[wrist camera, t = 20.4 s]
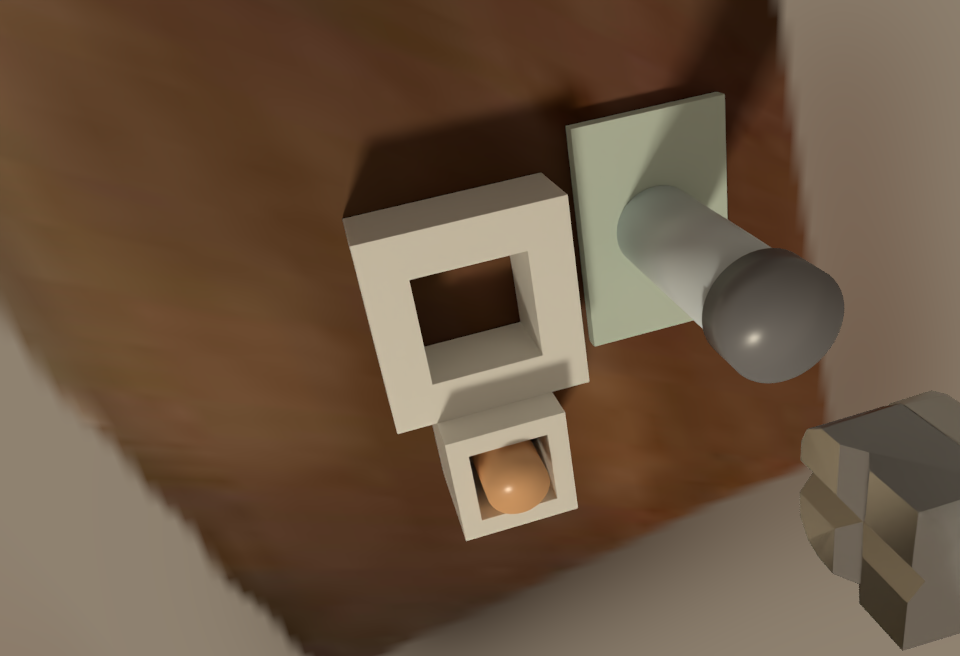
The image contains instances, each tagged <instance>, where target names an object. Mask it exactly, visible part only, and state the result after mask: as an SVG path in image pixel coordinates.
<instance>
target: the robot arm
mask: <svg viewBox="0 0 960 656" xmlns="http://www.w3.org/2000/svg"><path fill="white" fill-rule="evenodd" d="M801 461H802V462H803V463H804V464H805V465H806V466H807V467H808V468H809V469H810V470H811V471H812V472H813V473H812V474H811V476H810V477H809V479H808V480H807V482H806V483H805V485H804V487H803V488H802V489H801V491H800V517H801V520H802V523H803V526H804V529H805V532H806V535H807V538H808V541H809V542H810V544H811V546H812V547H813V549H814V551H815V552H816V554H817V556H818V557H819V558H820V560H821V561H822V562H823V563H824V564H825V565H826V566H827V568H828V569H829V570H830V571H831V572H832V573H833V574H835V575H837V576H840V577H843V578H845V579H847V580H850V581H853V582H855V583H857V584H859V603H860V605H861V606H862V607H863V608H864V609H865V610H866V611H867V612H868V613H869V614H870V616H871V617H872V618H873V619H874V620H875V621H876V622H877V623H878V624H879V625H880V627H882V629H883V630H884V631H885V632H886V633H887V634H888V635H889V636H890V638H891V639H892V640H893V641H894V642H895V643H896V644H897V645H898V646H899V647H900V649H902V651H903V650H906V649H910V648H913V647H916V646H919V645H923V644H926V643H929V642H933V641H936V640H939V639H943V638H946V637H949V636H952V635H956V634H959V633H960V403H959V402H958V401H956V400H955V399H953V398H952V397H950V396H949V395H947V394H944V393H940V392H936V391H929V392H925V393H922V394H919V395H916V396H912V397H909V398H907V399H903V400H900V401H897V402H893V403H891V404H889V405H888V406H883V407H880V408H876V409H873V410H870V411H866V412H863V413H860V414H856V415H853V416H850V417H847V418H843V419H839V420H836V421H833V422H829V423H826V424H823V425H819V426H816V427H813V428H809V429H807V431H806V433H805V435H804V437H803V439H802V442H801Z"/></svg>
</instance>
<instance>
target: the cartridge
mask: <svg viewBox="0 0 960 656" xmlns="http://www.w3.org/2000/svg"><path fill="white" fill-rule="evenodd" d="M617 241H618V245H619V248H620V250H621V252H622V253H623V254H624V256H625V257H626V258H627V259H628V260H629V261H630V262H632V263H633V264H634V265H635V266H636V267H637V268H638V269H639V270H640V271H641V272H642V273H643V274H644V275H646V276H647V277H648V278H649V279H650V280H651V281H652V282H653V283H654V284H655V285H656V286H657V287H658V288H660V289H661V290H662V291H663V292H664V293H665V294H666V295H667V296H668V297H669V298H670V299H671V300H672V301H674V302H675V303H676V304H677V305H678V306H679V307H680V308H681V309H682V310H683V311H684V312H685V313H686V314H688V315H689V316H690V317H691V318H692V319H693V320H694V321H695V322H696V323H697V324H698V325H699V326H700V327H702V328H703V331H704V335H705V337H706V339H707V341H708V342H709V344H710V345H711V346H712V347H713V349H714V350H715V351H717V352H718V353H719V354H720V355H721V356H722V357H723V358H724V359H725V360H726V361H727V362H728V363H729V364H730V365H731V366H732V367H733V368H734V369H735V370H736V371H738V372H739V373H740V374H741V375H742V376H744V377H745V378H747V379H749V380H752V381H755V382H760V383H776V382H782V381H786V380H789V379H791V378H794V377H796V376H798V375H800V374H802V373H804V372H805V371H807V370H808V369H810V368H811V367H812V366H814V365H815V364H816V363H817V362H818V361H819V360H820V359H821V358H822V357H823V356H824V355H825V354H826V353H827V351H828V350H829V349H830V348H831V346H832V344H833V343H834V341H835V339H836V337H837V335H838V333H839V331H840V328H841V325H842V321H843V316H844V300H843V295H842V292H841V290H840V288H839V286H838V284H837V283H836V282H835V280H834V279H833V278H832V277H831V276H830V275H829V274H827V273H825V272H824V271H822V270H821V269H819V268H817V267H816V266H814V265H812V264H811V263H809V262H808V261H806V260H804V259H803V258H801V257H800V256H798V255H796V254H795V253H793V252H791V251H788V250H785V249H780V248H771V247H770V246H768V245H766V244H765V243H763V242H762V241H760V240H759V239H757V238H755V237H754V236H752V235H751V234H749V233H748V232H746V231H744V230H743V229H741V228H740V227H738V226H737V225H735V224H734V223H732V222H730V221H729V220H727V219H726V218H724V217H723V216H721V215H719V214H718V213H716V212H715V211H713V210H712V209H710V208H709V207H707V206H705V205H704V204H702V203H701V202H699V201H698V200H696V199H694V198H693V197H691V196H690V195H688V194H687V193H685V192H683V191H682V190H680V189H678V188H676V187H673V186H667V185H659V186H654V187H651V188H648V189H646V190H643V191H642V192H640V193H639V194H637V195H636V196H635V197H633V198H632V199H631V200H630V201H629V203H628V204H627V205H626V206H625V208H624V210H623V211H622V213H621V215H620V218H619V221H618V225H617Z"/></svg>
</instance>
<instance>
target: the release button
mask: <svg viewBox="0 0 960 656" xmlns="http://www.w3.org/2000/svg"><path fill="white" fill-rule="evenodd" d="M471 458H472V461H473V463H474V466H475V468H476V471H477V473H478V476H479V478H480V481H481V483H482V486H483V488H484V491H485V493H486V496H487V498H488V501H489V503H490V504H491V505H492V507H493V508H495V509H496V510H498V511H500V512H502V513H506V514H519V513H523V512H526V511H528V510H531V509H532V508H534V507H535V506H537V505H538V504H539V503H540V502H541V501H542V500H543V499H544V497H545V496H546V494H547V492H548V490H549V486H550V477H549V474H548V472H547V470H546V468H545V466H544V464H543V462H542V460H541V458H540V456H539V455H538V453H537V451H536V449H535V447H534V445H533V443H532V441H531V440H527V441H523V442H519V443H516V444H512V445H509V446H505V447H502V448H498V449H495V450H491V451H487V452H484V453H480V454H477V455H473V456H471Z"/></svg>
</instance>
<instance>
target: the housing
mask: <svg viewBox="0 0 960 656" xmlns="http://www.w3.org/2000/svg"><path fill="white" fill-rule="evenodd" d="M342 220H343V224H344V228H345V232H346V236H347V240H348V244H349V248H350V252H351V255H352V259H353V263H354V267H355V271H356V275H357V279H358V283H359V287H360V291H361V295H362V299H363V303H364V306H365V310H366V314H367V318H368V322H369V326H370V330H371V334H372V338H373V342H374V346H375V350H376V353H377V357H378V361H379V365H380V369H381V373H382V377H383V381H384V385H385V389H386V393H387V396H388V400H389V404H390V408H391V411H392V415H393V419H394V423H395V426H396V430H397V434H400V433H403V432H407V431H411V430H414V429H418V428H422V427H425V426H429V425H433V430H434V434H435V438H436V443H437V447H438V452H439V456H440V460H441V465H442V469H443V473H444V476H445V479H446V482H447V485H448V488H449V491H450V494H451V497H452V500H453V503H454V506H455V509H456V512H457V515H458V518H459V521H460V524H461V527H462V530H463V533H464V536H465V539H466V541H468V540H471V539H475V538H478V537H482V536H485V535H488V534H492V533H495V532H499V531H502V530H505V529H509V528H512V527H516V526H519V525H522V524H526V523H529V522H532V521H536V520H539V519H543V518H546V517H549V516H553V515H556V514H560V513H563V512H566V511H570V510H573V509H577V508H578V505H577V498H576V490H575V483H574V475H573V468H572V461H571V453H570V446H569V438H568V431H567V424H566V416H565V411H564V410H563V408H562V407H561V405H560V404H559V402H558V400H557V399H556V397H555V396H554V394H553V393H552V392H554V391H557V390H561V389H565V388H568V387H572V386H576V385H579V384H583V383H587V382H589V374H588V366H587V357H586V348H585V340H584V331H583V322H582V314H581V305H580V297H579V288H578V279H577V271H576V262H575V254H574V245H573V236H572V228H571V219H570V210H569V202H568V195H567V194H566V193H565V192H564V191H563V190H562V189H560V188H559V187H558V186H557V185H556V184H554V183H553V182H552V181H551V180H550V179H548V178H547V177H546V176H545V175H544V174H542V173H536V174H532V175H528V176H524V177H519V178H515V179H511V180H506V181H502V182H498V183H494V184H489V185H485V186H481V187H476V188H472V189H468V190H464V191H459V192H455V193H451V194H446V195H442V196H438V197H433V198H429V199H425V200H421V201H416V202H412V203H408V204H403V205H399V206H395V207H391V208H386V209H382V210H378V211H373V212H369V213H365V214H361V215H356V216H352V217H348V218H343V219H342ZM509 255H510V259H511V265H512V272H513V278H514V285H515V291H516V297H517V304H518V310H519V317H520V322H518V323H514V324H510V325H506V326H502V327H499V328H495V329H491V330H487V331H483V332H479V333H475V334H472V335H468V336H464V337H460V338H456V339H452V340H448V341H444V342H441V343H437V344H433V345H429V346H425V347H424V344H423V340H422V335H421V331H420V326H419V322H418V317H417V313H416V308H415V304H414V299H413V295H412V290H411V286H410V281H409V280H412V279H416V278H420V277H424V276H428V275H432V274H436V273H440V272H444V271H448V270H452V269H456V268H460V267H464V266H469V265H473V264H477V263H481V262H485V261H489V260H493V259H497V258H501V257H505V256H509ZM527 440H531V441H532V443H533V445H534V447H535V449H536V451H537V453H538V455H539V456H540V458H541V460H542V462H543V464H544V466H545V468H546V470H547V472H548V474H549V477H550V486H549V490H548V492H547V494H546V496H545V497H544V499H543V500H542V501H541V502H540V503H539V504H538V505H537V506H535V507H534V508H532V509H531V510H528V511H526V512H523V513H519V514H506V513H502V512H500V511H498V510H496V509H495V508H493V507H492V505H491V504H490V503H489V501H488V498H487V496H486V493H485V491H484V488H483V486H482V483H481V481H480V478H479V476H478V473H477V471H476V468H475V466H474V463H473V461H472V458H471V456H473V455H477V454H480V453H484V452H487V451H491V450H495V449H498V448H502V447H505V446H509V445H512V444H516V443H519V442H523V441H527Z"/></svg>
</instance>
